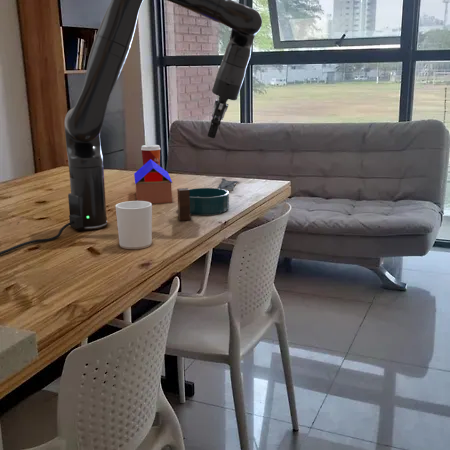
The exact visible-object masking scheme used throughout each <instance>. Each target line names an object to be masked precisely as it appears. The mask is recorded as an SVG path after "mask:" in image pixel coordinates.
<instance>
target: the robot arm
mask: <svg viewBox="0 0 450 450" xmlns="http://www.w3.org/2000/svg"><path fill="white" fill-rule="evenodd" d="M166 1H167V2H170V3H173V4H174V5H178V6H179V7H182V8H183V9H186V10H189V11H191V12H193V13H195V14H197V15H200V16H202V17H204V18H206V19H208V20H210V21H213V22H215V23H219V24H222V25H224V26H226V27H228V28H230V29H231V31H230V35H229V39H228V43H227V46H226V47H225V51H224V54H223V56H222V60H221V63H220V65H219V67H218V70H217V73H216V76H215V80H214V83H213V85H212V89H211V92H212V94H214V95H216V96H218V100H217V99H215V101H214V103H213V104H214V105H213V109H212V113H211V117H212V119H211V120H210V126H209V129H208V133H207V137H208V138H211V139H215V138H216V136H217V132H218V130H219V127H220V126H221V123H222V122H221V121H223V119H224V118H225V115H226V112H227V111H228V108H229V103H227V102H228V100H230V101H237V100H238V97H239V95H240V93H241V92H240V91H241V88H242V86H243V82H244V79H245V76H246V71H247V67H248V64H249V61H250V59H251V54H252V45H253V43H254V40H255V37H256V35H257V33H259V31H260V30H261V29H262V26H263V18H262V16H261V14H260V12H259V11H258V10H256V9H254V8H252V7H250V6H248V5H246V4H243V3H240V2H237V1H235V0H166ZM143 2H144V0H110V3H109V5H108V7H107V9H106V10H105V13H104V16H103V17H102V19H101V22H100V25H99V27H98V30H97V32H96V34H95V38H94V40H93V42H92V46H91V48H90V53H89V56H88V60H87V65H86V71H85V77H84V82H83V85H82V89H81V91H80V93H79V96H78V98H77V100H76V103H75V105H74V107H72V108H70V109H69V110H68V111H67V113H66V114H65V117H64V134H65V135H64V136H65V146H66V155H67V161H68V162H67V163H68V173H69V184H70V187H69V188H70V192H69V193H68V194H67V197H68V210H69V211H68V212H69V215H68V219H69V222H68V223H66V224H64V225H63V226H62V227H61V228H60V229H59V231H58V233H57V234H56V235H54V236H52V237H48V238H40V239H32V240H29V241H24V242H21V243H20V244H17V245H14V246H11V247H9V248H6V249H4V250H2V251H0V256H2V255H4V254H6V253H9V252H11V251H14V250H16V249H19V248H22V247H24V246H27V245H30V244H35V243H44V242H51V241H54V240H57V239H58V238H60V237H61V235H62V233H63V231H64V230H65V229H66V228H68V227H70V228H73V229H75V230H78V231H81V232H83V231H94V230H99V229H103V228H107V226H108V216H107V203H106V188H105V169H104V156H103V151H102V146H101V132H102V129H103V125H104V120H105V117H106V112H107V108H108V104H109V101H110V98H111V95H112V93H113V90H114V89H115V87H116V84H117V82H118V80H119V77H120V75H121V74H122V70H123V68H124V66H125V63H126V60H127V58H128V55H129V52H130V50H131V47H132V43H133V39H134V36H135V31H136V28H137V27H136V26H137V22H138V16H139V13H140V9H141V7H142V4H143Z"/></svg>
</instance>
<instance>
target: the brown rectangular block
mask: <svg viewBox="0 0 450 450" xmlns="http://www.w3.org/2000/svg"><path fill="white" fill-rule="evenodd" d="M177 218H178V220H179V222H185V221H186V222H187V221H191V214H190V193H189V187H183V188H182V187H181V188H177Z"/></svg>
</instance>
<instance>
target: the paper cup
mask: <svg viewBox="0 0 450 450" xmlns="http://www.w3.org/2000/svg"><path fill="white" fill-rule="evenodd" d="M161 149H162V148H161V146H160V145H159V144H144V145H141V148H140V150H141V159H142V166H143V165H144V164H146V163H147V162H148V161H149V160H150V159H151V160H152V161H154V162H155V163H156V164H158V165H159V166H160V167H161V163H160V162H161Z"/></svg>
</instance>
